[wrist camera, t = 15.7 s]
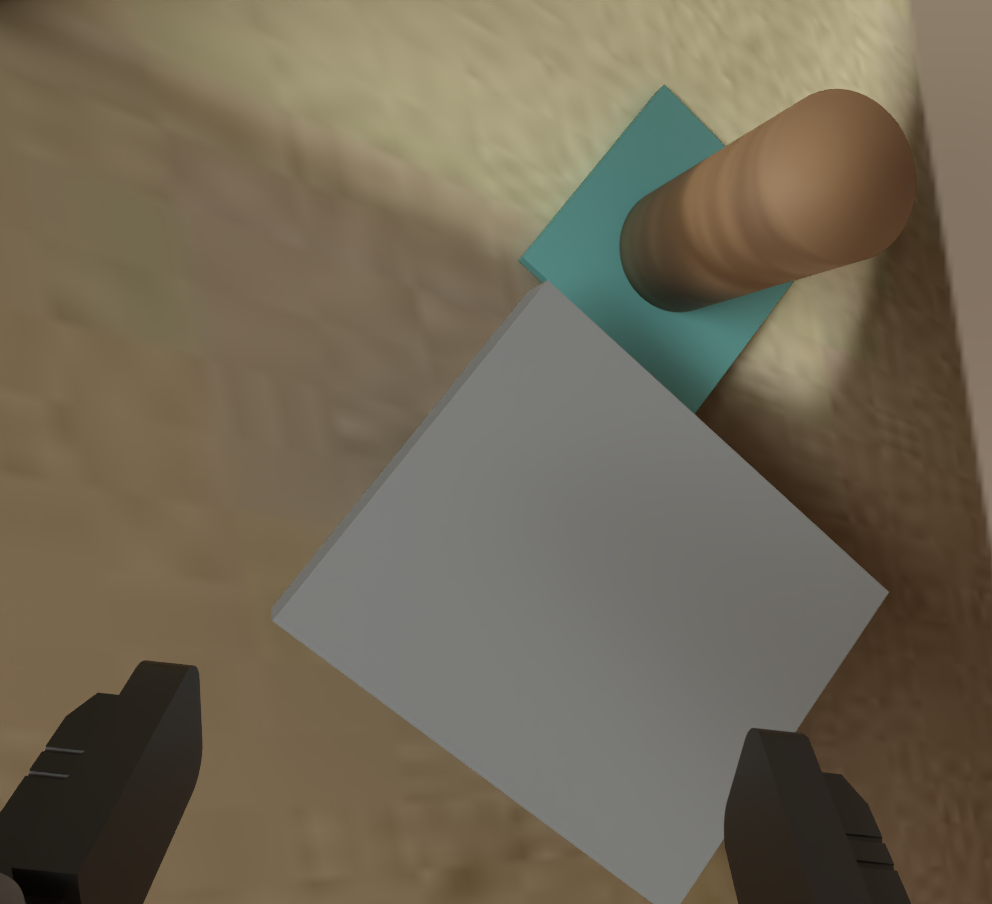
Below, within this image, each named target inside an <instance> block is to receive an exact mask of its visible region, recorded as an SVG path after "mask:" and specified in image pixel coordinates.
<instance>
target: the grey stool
mask: <svg viewBox="0 0 992 904" xmlns="http://www.w3.org/2000/svg"><path fill="white" fill-rule="evenodd" d="M888 593H889V592H888V591H887V590H886V589H885V588H884V587H883V586H882V585H881V584H880V583H878V582H877V581H876V580H875V579H874V578H873V577H872V576H871V575H870V574H869V573H867V572H866V571H865V570H864V569H863V568H862V567H861V566H860V565H859V564H858V563H857V562H855V561H854V560H853V559H852V558H851V557H850V556H849V555H848V554H847V553H846V552H845V551H843V550H842V549H841V548H840V547H839V546H838V545H837V544H836V543H835V542H834V541H833V540H831V539H830V538H829V537H828V536H827V535H826V534H825V533H824V532H823V531H822V530H820V529H819V528H818V527H817V526H816V525H815V524H814V523H813V522H812V521H811V520H810V519H808V518H807V517H806V516H805V515H804V514H803V513H802V512H801V511H800V510H799V509H798V508H796V507H795V506H794V505H793V504H792V503H791V502H790V501H789V500H788V499H787V498H785V497H784V496H783V495H782V494H781V493H780V492H779V491H778V490H777V489H776V488H775V487H773V486H772V485H771V484H770V483H769V482H768V481H767V480H766V479H765V478H764V477H763V476H761V475H760V474H759V473H758V472H757V471H756V470H755V469H754V468H753V467H752V466H750V465H749V464H748V463H747V462H746V461H745V460H744V459H743V458H742V457H741V456H740V455H738V454H737V453H736V452H735V451H734V450H733V449H732V448H731V447H730V446H729V445H728V444H726V443H725V442H724V441H723V440H722V439H721V438H720V437H719V436H718V435H717V434H715V433H714V432H713V431H712V430H711V429H710V428H709V427H708V426H707V425H706V424H705V423H703V422H702V421H701V420H700V419H699V418H698V417H697V416H696V415H695V414H694V413H693V412H691V411H690V410H689V409H688V408H687V407H686V406H685V405H684V404H683V403H682V402H681V401H679V400H678V399H677V398H676V397H675V396H674V395H673V394H672V393H671V392H670V391H668V390H667V389H666V388H665V387H664V386H663V385H662V384H661V383H660V382H659V381H658V380H656V379H655V378H654V377H653V376H652V375H651V374H650V373H649V372H648V371H647V370H646V369H644V368H643V367H642V366H641V365H640V364H639V363H638V362H637V361H636V360H635V359H633V358H632V357H631V356H630V355H629V354H628V353H627V352H626V351H625V350H624V349H623V348H621V347H620V346H619V345H618V344H617V343H616V342H615V341H614V340H613V339H612V338H611V337H609V336H608V335H607V334H606V333H605V332H604V331H603V330H602V329H601V328H600V327H598V326H597V325H596V324H595V323H594V322H593V321H592V320H591V319H590V318H589V317H588V316H586V315H585V314H584V313H583V312H582V311H581V310H580V309H579V308H578V307H577V306H576V305H574V304H573V303H572V302H571V301H570V300H569V299H568V298H567V297H566V296H565V295H563V294H562V293H561V292H560V291H559V290H558V289H557V288H556V287H555V286H554V285H553V284H551V283H550V282H549V281H548V280H547V281H545V282H543V283H542V284H540V285H538V286H536V287H535V288H533V289H531V290H529V291H528V292H527V293H526V294H525V296H524V297H523V298H522V299H521V301H520V302H519V303H518V304H517V306H516V307H515V308H514V309H513V311H512V312H511V313H510V314H509V315H508V317H507V318H506V319H505V320H504V322H503V323H502V324H501V325H500V327H499V328H498V329H497V330H496V332H495V333H494V334H493V335H492V336H491V338H490V339H489V340H488V341H487V343H486V344H485V345H484V346H483V348H482V349H481V350H480V351H479V352H478V354H477V355H476V356H475V357H474V359H473V360H472V361H471V362H470V364H469V365H468V366H467V367H466V369H465V370H464V371H463V372H462V373H461V375H460V376H459V377H458V378H457V380H456V381H455V382H454V383H453V385H452V386H451V387H450V388H449V390H448V391H447V392H446V393H445V394H444V396H443V397H442V398H441V399H440V401H439V402H438V403H437V404H436V406H435V407H434V408H433V409H432V411H431V412H430V413H429V414H428V415H427V417H426V418H425V419H424V420H423V422H422V423H421V424H420V425H419V427H418V428H417V429H416V430H415V432H414V433H413V434H412V435H411V436H410V438H409V439H408V440H407V441H406V443H405V444H404V445H403V446H402V448H401V449H400V450H399V451H398V452H397V454H396V455H395V456H394V457H393V459H392V460H391V461H390V462H389V464H388V465H387V466H386V467H385V469H384V470H383V471H382V472H381V473H380V475H379V476H378V477H377V478H376V480H375V481H374V482H373V483H372V485H371V486H370V487H369V488H368V490H367V491H366V492H365V493H364V494H363V496H362V497H361V498H360V499H359V501H358V502H357V503H356V504H355V506H354V507H353V508H352V509H351V511H350V512H349V513H348V514H347V515H346V517H345V518H344V519H343V520H342V522H341V523H340V524H339V525H338V527H337V528H336V529H335V530H334V531H333V533H332V534H331V535H330V536H329V538H328V539H327V540H326V541H325V543H324V544H323V545H322V546H321V548H320V549H319V550H318V551H317V552H316V554H315V555H314V556H313V557H312V559H311V560H310V561H309V562H308V564H307V565H306V566H305V567H304V569H303V570H302V571H301V572H300V573H299V575H298V576H297V577H296V578H295V580H294V581H293V582H292V583H291V585H290V586H289V587H288V588H287V590H286V591H285V592H284V593H283V594H282V596H281V597H280V598H279V599H278V601H277V602H276V603H275V604H274V606H273V607H272V608H271V614H272V621H273V622H275V623H276V624H277V625H279V626H280V627H281V628H283V629H284V630H285V631H287V632H288V633H289V634H291V635H292V636H293V637H295V638H296V639H297V640H299V641H300V642H301V643H303V644H304V645H305V646H307V647H308V648H310V649H311V650H312V651H314V652H315V653H316V654H318V655H319V656H320V657H322V658H323V659H324V660H326V661H327V662H328V663H330V664H331V665H332V666H334V667H335V668H336V669H338V670H339V671H340V672H342V673H343V674H345V675H346V676H347V677H349V678H350V679H351V680H353V681H354V682H355V683H357V684H358V685H359V686H361V687H362V688H363V689H365V690H366V691H367V692H369V693H370V694H371V695H373V696H374V697H375V698H377V699H378V700H379V701H381V702H382V703H384V704H385V705H386V706H388V707H389V708H390V709H392V710H393V711H394V712H396V713H397V714H398V715H400V716H401V717H402V718H404V719H405V720H406V721H408V722H409V723H410V724H412V725H413V726H414V727H416V728H417V729H419V730H420V731H421V732H423V733H424V734H425V735H427V736H428V737H429V738H431V739H432V740H433V741H435V742H436V743H437V744H439V745H440V746H441V747H443V748H444V749H445V750H447V751H448V752H449V753H451V754H452V755H454V756H455V757H456V758H458V759H459V760H460V761H462V762H463V763H464V764H466V765H467V766H468V767H470V768H471V769H472V770H474V771H475V772H476V773H478V774H479V775H480V776H482V777H483V778H484V779H486V780H487V781H489V782H490V783H491V784H493V785H494V786H495V787H497V788H498V789H499V790H501V791H502V792H503V793H505V794H506V795H507V796H509V797H510V798H511V799H513V800H514V801H515V802H517V803H518V804H519V805H521V806H522V807H523V808H525V809H526V810H528V811H529V812H530V813H532V814H533V815H534V816H536V817H537V818H538V819H540V820H541V821H542V822H544V823H545V824H546V825H548V826H549V827H550V828H552V829H553V830H554V831H556V832H557V833H558V834H560V835H561V836H563V837H564V838H565V839H567V840H568V841H569V842H571V843H572V844H573V845H575V846H576V847H577V848H579V849H580V850H581V851H583V852H584V853H585V854H587V855H588V856H589V857H591V858H592V859H593V860H595V861H596V862H598V863H599V864H600V865H602V866H603V867H604V868H606V869H607V870H608V871H610V872H611V873H612V874H614V875H615V876H616V877H618V878H619V879H620V880H622V881H623V882H624V883H626V884H627V885H628V886H630V887H631V888H633V889H634V890H635V891H637V892H638V893H639V894H641V895H642V896H643V897H645V898H646V899H647V900H649V901H650V902H651V903H653V904H681V902H682V901H683V899H684V898H685V896H686V895H687V893H688V892H689V890H690V889H691V887H692V886H693V884H694V883H695V881H696V880H697V878H698V877H699V875H700V874H701V872H702V871H703V869H704V868H705V866H706V865H707V863H708V862H709V860H710V859H711V857H712V856H713V854H714V853H715V851H716V850H717V848H718V847H719V845H720V844H721V842H722V841H723V839H724V815H725V808H726V803H727V800H728V796H729V793H730V789H731V786H732V782H733V779H734V775H735V772H736V768H737V765H738V762H739V758H740V755H741V751H742V748H743V744H744V741H745V738H746V735H747V733H748V731H749V730H750V729H751V728H760V729H769V730H778V731H787V732H796V730H797V729H798V727H799V726H800V724H801V723H802V721H803V720H804V718H805V717H806V715H807V714H808V712H809V711H810V709H811V708H812V706H813V705H814V703H815V702H816V700H817V699H818V697H819V696H820V694H821V693H822V691H823V690H824V688H825V687H826V685H827V684H828V682H829V681H830V679H831V678H832V676H833V675H834V674H835V672H836V671H837V669H838V668H839V666H840V665H841V663H842V662H843V660H844V659H845V657H846V656H847V654H848V653H849V651H850V650H851V648H852V647H853V645H854V644H855V642H856V641H857V639H858V638H859V636H860V635H861V633H862V632H863V630H864V629H865V627H866V626H867V624H868V623H869V621H870V620H871V618H872V617H873V615H874V614H875V612H876V611H877V609H878V608H879V606H880V605H881V603H882V602H883V600H884V599H885V597H886V596H887V594H888Z"/></svg>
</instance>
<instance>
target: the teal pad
mask: <svg viewBox="0 0 992 904" xmlns="http://www.w3.org/2000/svg"><path fill="white" fill-rule="evenodd" d="M724 147H725V146H724V145H723V144H722V143H721V142H720V141H719V140H718V138H717V137H716V136H715V135H714V134H713V133H712V132H711V131H710V130H709V129H708V128H707V127H706V126H705V125H704V124H703V123H702V122H701V121H700V120H699V119H698V118H697V117H696V116H695V115H694V114H693V113H692V112H691V111H690V110H689V109H688V108H687V107H686V106H685V105H684V104H683V103H682V102H681V101H680V100H679V99H678V98H677V97H676V96H675V95H674V94H673V93H672V92H671V91H670V90H669V89H668V88H667V87H666V86H665V85H663V86H662V87H661V88H660V89H659V90H658V91H657V92H656V93H655V94H654V96H653V97H652V98H651V99H650V101H649V102H648V103H647V104H646V105H645V107H644V108H643V109H642V110H641V112H640V113H639V114H638V115H637V116H636V118H635V119H634V120H633V121H632V123H631V124H630V125H629V126H628V127H627V129H626V130H625V131H624V132H623V134H622V135H621V136H620V137H619V138H618V140H617V141H616V142H615V143H614V144H613V146H612V147H611V148H610V149H609V151H608V152H607V153H606V154H605V155H604V157H603V158H602V159H601V160H600V162H599V163H598V164H597V165H596V166H595V168H594V169H593V170H592V171H591V173H590V174H589V175H588V176H587V177H586V179H585V180H584V181H583V182H582V184H581V185H580V186H579V187H578V188H577V190H576V191H575V192H574V193H573V195H572V196H571V197H570V198H569V199H568V201H567V202H566V203H565V204H564V206H563V207H562V208H561V209H560V210H559V212H558V213H557V214H556V215H555V217H554V218H553V219H552V220H551V221H550V223H549V224H548V225H547V226H546V228H545V229H544V230H543V231H542V232H541V234H540V235H539V236H538V237H537V239H536V240H535V241H534V242H533V243H532V245H531V246H530V247H529V248H528V250H527V251H526V252H525V253H524V254H523V256H522V257H521V258H520V259H519V262H520V263H521V264H522V265H523V266H525V267H526V268H527V269H528V270H529V271H530V272H531V273H532V274H533V275H534V276H536V277H537V278H538V279H539V280H540V281H541V282H542V283H543V282H545V281H547V280H548V281H549V282H550V283H551V284H553V285H554V286H555V287H556V288H557V289H558V290H559V291H560V292H561V293H562V294H563V295H565V296H566V297H567V298H568V299H569V300H570V301H571V302H572V303H573V304H574V305H576V306H577V307H578V308H579V309H580V310H581V311H582V312H583V313H584V314H585V315H586V316H588V317H589V318H590V319H591V320H592V321H593V322H594V323H595V324H596V325H597V326H598V327H600V328H601V329H602V330H603V331H604V332H605V333H606V334H607V335H608V336H609V337H611V338H612V339H613V340H614V341H615V342H616V343H617V344H618V345H619V346H620V347H621V348H623V349H624V350H625V351H626V352H627V353H628V354H629V355H630V356H631V357H632V358H633V359H635V360H636V361H637V362H638V363H639V364H640V365H641V366H642V367H643V368H644V369H646V370H647V371H648V372H649V373H650V374H651V375H652V376H653V377H654V378H655V379H656V380H658V381H659V382H660V383H661V384H662V385H663V386H664V387H665V388H666V389H667V390H668V391H670V392H671V393H672V394H673V395H674V396H675V397H676V398H677V399H678V400H679V401H681V402H682V403H683V404H684V405H685V406H686V407H687V408H688V409H689V410H690V411H691V412H693V413H694V414H695V413H696V411H697V410H698V409H699V407H700V406H701V405H702V403H703V402H704V401H705V399H706V398H707V397H708V395H709V394H710V393H711V391H712V390H713V389H714V387H715V386H716V385H717V383H718V382H719V381H720V379H721V378H722V377H723V375H724V374H725V372H726V371H727V370H728V368H729V367H730V366H731V364H732V363H733V362H734V360H735V359H736V358H737V356H738V355H739V354H740V352H741V351H742V350H743V348H744V347H745V346H746V344H747V343H748V342H749V340H750V339H751V338H752V336H753V335H754V334H755V332H756V331H757V330H758V328H759V327H760V326H761V324H762V323H763V322H764V320H765V319H766V317H767V316H768V315H769V313H770V312H771V311H772V309H773V308H774V307H775V305H776V304H777V303H778V301H779V300H780V299H781V297H782V296H783V295H784V293H785V292H786V291H787V289H788V288H789V287H790V285H791V284H792V283H793V281H791V282H787V283H784V284H781V285H777V286H774V287H770V288H767V289H764V290H760V291H757V292H754V293H750V294H747V295H743V296H740V297H737V298H733V299H730V300H727V301H723V302H720V303H716V304H713V305H710V306H706V307H703V308H700V309H696V310H693V311H689V312H669V311H665V310H662V309H659V308H657V307H655V306H653V305H651V304H649V303H648V302H646V301H645V300H644V299H643V298H642V297H640V296H639V294H638V293H637V292H636V291H635V290H634V289H633V287H632V286H631V284H630V283H629V281H628V279H627V277H626V275H625V273H624V270H623V267H622V263H621V259H620V250H619V243H620V234H621V230H622V226H623V224H624V221H625V219H626V217H627V215H628V213H629V212H630V210H631V209H632V207H633V206H634V205H635V204H636V203H637V202H638V201H639V200H640V199H642V198H643V197H644V196H646V195H647V194H649V193H651V192H652V191H654V190H656V189H657V188H659V187H661V186H662V185H664V184H665V183H667V182H669V181H670V180H672V179H674V178H675V177H677V176H678V175H680V174H682V173H683V172H685V171H687V170H688V169H690V168H691V167H693V166H695V165H696V164H698V163H700V162H701V161H703V160H705V159H706V158H708V157H709V156H711V155H713V154H714V153H716V152H718V151H719V150H721V149H722V148H724Z"/></svg>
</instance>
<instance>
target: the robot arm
mask: <svg viewBox="0 0 992 904" xmlns="http://www.w3.org/2000/svg"><path fill="white" fill-rule="evenodd" d="M201 758H202V726H201V703H200V681H199V672H198V669H197V667H196V666H192V665H183V664H174V663H164V662H155V661H146V660H145V661H142V662H141V663H140V664H139V665H138V666H137V667H136V669H135V670H134V672H133V673H132V675H131V677H130V678H129V680H128V681H127V683H126V685H125V686H124V688H123V689H122V691H121V693H120V694H119V695H114V694H105V693H97V694H96V695H94V696H93V697H91V698H90V699H89V700H87V701H86V702H85V703H83V704H82V705H81V706H79V707H78V708H77V709H75V710H74V711H73V712H71V713H70V714H69V715H67V716H66V717H65V719H64V720H63V721H62V723H61V724H60V726H59V727H58V729H57V730H56V732H55V733H54V735H53V736H52V738H51V739H50V741H49V742H48V743H47V745H46V749H45V752H43V751H42V752H41V754H40V755H39V757H38V758H37V760H36V761H35V762H34V764H33V765H32V767H31V768H30V772H29V775H28V776H25V777H24V779H23V780H22V782H21V783H20V784H19V786H18V787H17V789H16V790H15V792H14V793H13V795H12V796H11V798H10V799H9V801H8V802H7V804H6V805H5V806H4V808H3V809H2V811H1V812H0V904H143V902H144V900H145V898H146V896H147V894H148V891H149V889H150V887H151V885H152V882H153V880H154V878H155V876H156V873H157V871H158V869H159V867H160V864H161V862H162V860H163V858H164V856H165V853H166V851H167V849H168V847H169V844H170V842H171V840H172V838H173V835H174V833H175V831H176V829H177V826H178V824H179V822H180V820H181V818H182V815H183V813H184V811H185V809H186V806H187V804H188V802H189V800H190V797H191V795H192V793H193V790H194V788H195V785H196V782H197V778H198V774H199V770H200V765H201ZM724 841H725V848H726V853H727V858H728V862H729V866H730V870H731V874H732V879H733V883H734V887H735V891H736V896H737V900H738V904H911V902H910V900H909V898H908V895H907V893H906V891H905V888H904V886H903V884H902V882H901V879H900V877H899V875H898V872H897V871H894V867H893V866H894V863H893V861H892V859H891V856H890V854H889V852H888V849H887V847H886V845H885V844H884V843H882V836H881V833H880V831H879V829H878V826H877V824H876V822H875V819H874V817H873V815H872V813H871V810H870V808H869V806H868V804H867V803H866V802H865V801H864V799H863V798H862V797H861V796H860V795H859V794H858V793H857V792H856V790H855V789H854V788H853V787H852V786H851V785H850V784H849V783H848V782H847V780H846V779H845V778H844V777H843V776H842V775H841V774H832V773H822V772H821V769H820V766H819V764H818V761H817V759H816V756H815V754H814V751H813V748H812V746H811V743H810V741H809V739H808V738H807V736H806V735H805V734H803V733H797V732H787V731H778V730H769V729H760V728H751V729H750V730H749V731H748V733H747V735H746V738H745V741H744V744H743V748H742V751H741V755H740V758H739V762H738V765H737V768H736V772H735V775H734V779H733V782H732V786H731V789H730V793H729V796H728V800H727V803H726V808H725V815H724Z"/></svg>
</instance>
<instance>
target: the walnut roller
mask: <svg viewBox="0 0 992 904" xmlns="http://www.w3.org/2000/svg"><path fill="white" fill-rule="evenodd" d="M915 190H916V174H915V165H914V161H913V156H912V152H911V150H910V147H909V144H908V142H907V139H906V137H905V135H904V133H903V131H902V130H901V128H900V127H899V125H898V123H897V122H896V121H895V120H894V118H893V117H892V116H891V115H890V114H889V113H888V112H887V111H886V110H885V109H884V108H883V107H882V106H881V105H879V104H878V103H877V102H875V101H874V100H872V99H870V98H869V97H867V96H865V95H862V94H860V93H858V92H854V91H850V90H843V89H829V90H824V91H819V92H817V93H814V94H811V95H809V96H808V97H806V98H804V99H802V100H801V101H799V102H797V103H796V104H794V105H793V106H791V107H789V108H788V109H786V110H784V111H783V112H781V113H780V114H778V115H776V116H775V117H773V118H771V119H770V120H768V121H766V122H765V123H763V124H762V125H760V126H758V127H757V128H755V129H753V130H752V131H750V132H749V133H747V134H745V135H744V136H742V137H740V138H739V139H737V140H736V141H734V142H732V143H731V144H729V145H727V146H726V147H724V148H722V149H721V150H719V151H718V152H716V153H714V154H713V155H711V156H709V157H708V158H706V159H705V160H703V161H701V162H700V163H698V164H696V165H695V166H693V167H691V168H690V169H688V170H687V171H685V172H683V173H682V174H680V175H678V176H677V177H675V178H674V179H672V180H670V181H669V182H667V183H665V184H664V185H662V186H661V187H659V188H657V189H656V190H654V191H652V192H651V193H649V194H647V195H646V196H644V197H643V198H642V199H640V200H639V201H638V202H637V203H636V204H635V205H634V206H633V207H632V209H631V210H630V212H629V213H628V215H627V217H626V219H625V221H624V224H623V226H622V230H621V234H620V243H619V250H620V259H621V263H622V267H623V270H624V273H625V275H626V277H627V279H628V281H629V283H630V284H631V286H632V287H633V289H634V290H635V291H636V292H637V293H638V294H639V296H640V297H642V298H643V299H644V300H645V301H646V302H648V303H649V304H651V305H653V306H655V307H657V308H659V309H662V310H665V311H669V312H689V311H693V310H696V309H700V308H703V307H706V306H710V305H713V304H716V303H720V302H723V301H727V300H730V299H733V298H737V297H740V296H743V295H747V294H750V293H754V292H757V291H760V290H764V289H767V288H770V287H774V286H777V285H781V284H784V283H787V282H791V281H794V280H797V279H801V278H804V277H807V276H811V275H814V274H818V273H821V272H824V271H828V270H831V269H834V268H838V267H841V266H845V265H848V264H851V263H855V262H858V261H861V260H865V259H868V258H871V257H873V256H875V255H877V254H879V253H881V252H882V251H884V250H885V249H886V248H888V247H889V246H890V245H891V244H892V243H893V242H894V241H895V240H896V239H897V237H898V236H899V235H900V233H901V232H902V230H903V229H904V227H905V225H906V223H907V221H908V219H909V217H910V214H911V211H912V208H913V203H914V199H915Z"/></svg>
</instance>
